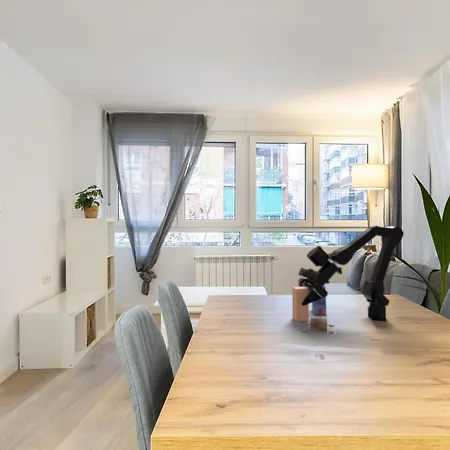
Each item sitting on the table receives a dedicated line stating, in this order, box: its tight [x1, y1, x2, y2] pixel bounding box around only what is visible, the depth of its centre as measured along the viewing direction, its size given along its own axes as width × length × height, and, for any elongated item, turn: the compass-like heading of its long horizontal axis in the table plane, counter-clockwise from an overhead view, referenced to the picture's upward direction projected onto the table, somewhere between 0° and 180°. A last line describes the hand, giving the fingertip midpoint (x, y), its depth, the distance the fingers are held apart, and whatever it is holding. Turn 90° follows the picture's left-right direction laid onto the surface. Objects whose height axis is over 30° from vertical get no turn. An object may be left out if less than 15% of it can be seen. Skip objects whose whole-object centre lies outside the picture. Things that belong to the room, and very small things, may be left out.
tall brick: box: [291, 286, 310, 323], centre depth 159 cm, size 5×5×14 cm
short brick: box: [309, 317, 328, 331], centre depth 146 cm, size 6×6×3 cm
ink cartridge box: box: [311, 285, 327, 315], centre depth 177 cm, size 10×6×14 cm, turn 174°
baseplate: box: [300, 322, 337, 335], centre depth 146 cm, size 12×12×2 cm
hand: (298, 302), depth 159 cm, fingers open, 9 cm apart
